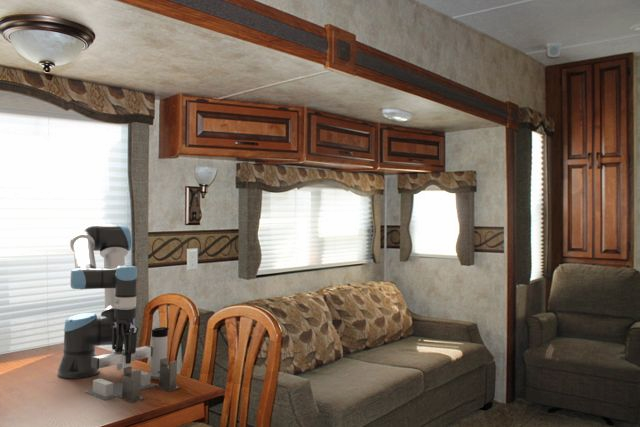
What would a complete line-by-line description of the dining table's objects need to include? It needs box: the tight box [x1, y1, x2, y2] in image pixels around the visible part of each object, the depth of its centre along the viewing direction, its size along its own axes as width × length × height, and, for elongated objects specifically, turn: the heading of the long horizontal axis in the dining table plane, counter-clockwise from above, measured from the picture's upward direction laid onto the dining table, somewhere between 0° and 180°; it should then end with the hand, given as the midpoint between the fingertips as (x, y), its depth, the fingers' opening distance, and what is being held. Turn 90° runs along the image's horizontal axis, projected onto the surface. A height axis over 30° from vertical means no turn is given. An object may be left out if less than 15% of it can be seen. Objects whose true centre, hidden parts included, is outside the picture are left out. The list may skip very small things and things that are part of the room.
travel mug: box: [149, 326, 169, 380], centre depth 220 cm, size 6×7×20 cm
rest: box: [85, 368, 158, 401], centre depth 204 cm, size 12×22×5 cm, turn 144°
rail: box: [91, 345, 153, 370], centre depth 204 cm, size 4×24×4 cm, turn 145°
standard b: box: [154, 357, 181, 393], centre depth 207 cm, size 8×5×10 cm, turn 54°
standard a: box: [117, 365, 145, 404], centre depth 194 cm, size 8×5×10 cm, turn 54°
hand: (122, 370), depth 204 cm, fingers closed on rail, 3 cm apart
